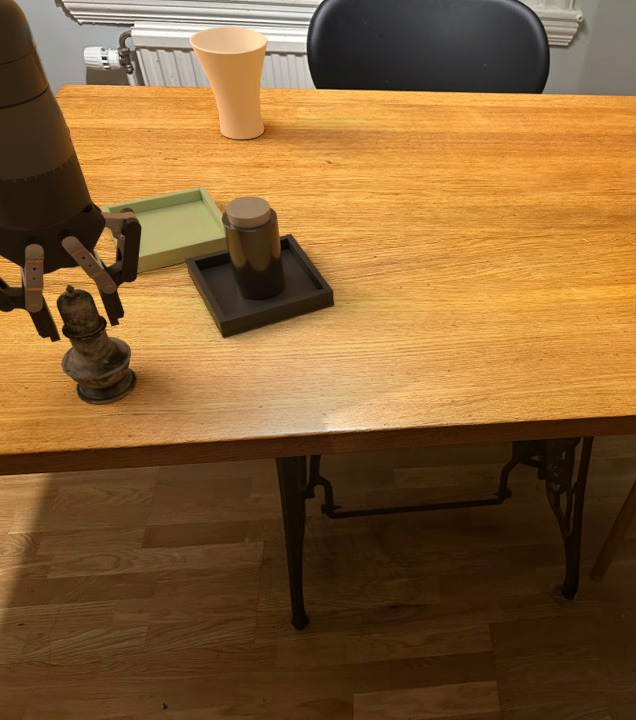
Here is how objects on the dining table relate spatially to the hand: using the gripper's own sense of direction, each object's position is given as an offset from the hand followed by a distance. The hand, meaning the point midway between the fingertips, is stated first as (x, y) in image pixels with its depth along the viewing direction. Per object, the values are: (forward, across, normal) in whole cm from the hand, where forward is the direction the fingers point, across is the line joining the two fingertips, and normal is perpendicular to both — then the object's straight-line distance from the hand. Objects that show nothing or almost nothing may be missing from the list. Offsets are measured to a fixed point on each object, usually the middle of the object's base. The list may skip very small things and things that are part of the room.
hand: (84, 327), depth 62 cm
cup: (+7, +29, +47) cm, 56 cm away
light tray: (+7, +12, +23) cm, 27 cm away
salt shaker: (+7, 0, 0) cm, 7 cm away
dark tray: (+7, +18, +8) cm, 21 cm away
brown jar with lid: (+7, +18, +8) cm, 21 cm away
